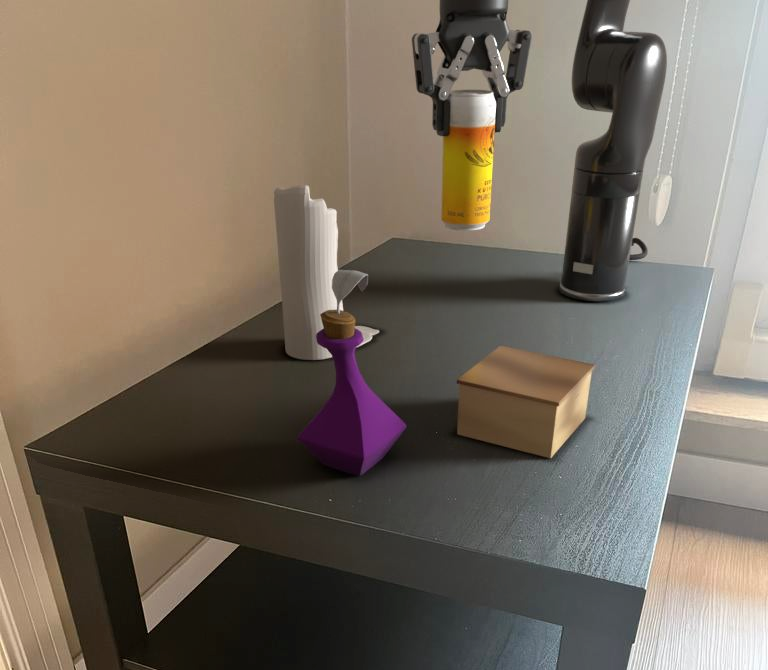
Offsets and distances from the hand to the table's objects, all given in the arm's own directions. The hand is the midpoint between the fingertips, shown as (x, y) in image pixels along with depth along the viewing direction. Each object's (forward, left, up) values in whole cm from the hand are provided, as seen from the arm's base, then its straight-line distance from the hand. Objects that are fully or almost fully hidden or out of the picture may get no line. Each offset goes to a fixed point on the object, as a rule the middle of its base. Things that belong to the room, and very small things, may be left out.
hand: (468, 133), depth 95 cm
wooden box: (+24, +19, -24) cm, 39 cm away
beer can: (0, 0, -11) cm, 11 cm away
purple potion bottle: (+39, +8, -24) cm, 46 cm away
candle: (+14, -11, -24) cm, 30 cm away
